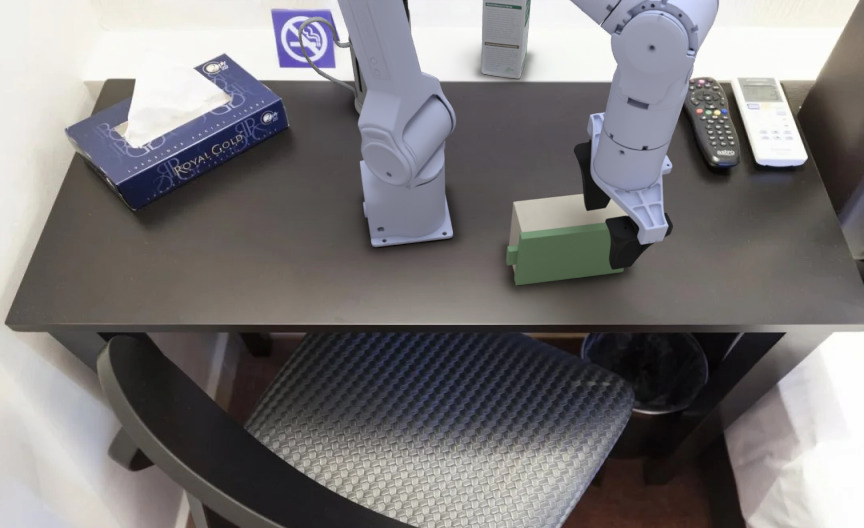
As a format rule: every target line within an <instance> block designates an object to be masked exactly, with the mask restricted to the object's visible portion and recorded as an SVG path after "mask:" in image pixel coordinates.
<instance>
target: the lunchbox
mask: <svg viewBox="0 0 864 528" xmlns="http://www.w3.org/2000/svg"><path fill="white" fill-rule="evenodd" d="M626 215H627V216H628V214H627V213H626V212H625V211H623V210H622V209H621V208H620V207H619V206H618V205H617V204H616V203H615V202H614V201H613V200H612V199H611V200H610V202H609V204H608V205H607V207H606V208H603V209H597V210H591V211H587V210H586V208H585V205H584V196H583V193H579V194H570V195H561V196H552V197H543V198H542V197H541V198H536V199H525V200H517V201H513V202H512V211H511V223H510V231H509V242H508V245H507V246H506V255H505V262H506V266H512V269H513V272H514V277H513V280H514V284H515V286H523V285H531V284H540V283H548V282H555V281H556V282H557V281H563V280H564V281H565V280H570V279H571V280H572V279H579V278H586V277H594V276H602V275H610V274H619V273H623V272H624V270H625V268H621V269H615V270H613V269H611V266H610V263H609V253H610V246H611V239H610V233H609V230H608V227H607V225H606V223H605V220H606V219H607V218H614V217H620V216H626Z"/></svg>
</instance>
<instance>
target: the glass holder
mask: <svg viewBox="0 0 864 528" xmlns="http://www.w3.org/2000/svg"><path fill="white" fill-rule="evenodd" d="M403 4H404V8H405V12H406V15H407V19H408V23H409V27H410V31H411V32H412V20H411V19H412V18H411V11H410V9H409V0H403ZM316 22H317V23H322V24H324V25H326V26H327V27H328V28H329V29H330V31H331V34H332V38H333V41H334V44H335V45H336V47H338V48H341V49H347V48H349V53H350V59H351V66H352V72H353V79H354V86H355V87H353V86H352V85H350V84H348V83H346V82H344V81H342V80H340V79H338V78H335V77H333V76H332V75H330V74H328V73H326V72H324V71H323V70H321V69H320V68H319V67H318V66H317V65H316V64H315V63H314V62H313V60H311V58H310V57H309V55H308V53H307V51H306V49H305V46H304V43H303V31H304V29H305V28H306V27H307V26H308V25H310V24H312V23H316ZM297 33H298V35H297V36H298V42H299V46H300V50H301V52H302V55H303V57H304V58H305V60H306V61H307V64H309V66H310V67H311V68H312V69H313V70H314V71H315V72H316V73H317V74H318V75H319V76H322V78H324V79H326V80H328V81H330V82H332V83H334V84H335V85H338V86H341V87H343V88H345V89H347V90H349V91H351V92H352V93H353V95H354V98H355V99H354V107H355V111H356V112H357V113H358V115H360V114H361V111H362V107H363V104H364V101H365V97H366V94H367V86H366V83H365V80H364V77H363V75H362V72H361V69H360V66H359V63H358V60H357V57H356V54H355V51H354V48H353V45H352V42H351V39H350V36H349V35H348V37H347V38H348V39H347V40H348V41H347V42H339V41H338V38H337V33H336V30H335V28H334V26H333V24H332V23H331V22H330V20H328V19H326V18H324V17H322V16H312V17H309V18H307V19H305V20H304V21H303V22H302V23H300V26H299V28H298V31H297Z"/></svg>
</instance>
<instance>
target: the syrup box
mask: <svg viewBox="0 0 864 528" xmlns="http://www.w3.org/2000/svg"><path fill="white" fill-rule="evenodd" d="M531 4H532V0H482V10H481V11H482V14H481V15H482V16H481V17H482V18H481V65H480V66H481V67H480V68H481V74H483V75H489V76H494V77H501V78H510V79H518V80H520V78H521V76H522V73H523V69H524V66H525V63H526V58H527V56H528V55H527V53H528V40H529V29H530V15H531Z"/></svg>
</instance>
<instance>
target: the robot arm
mask: <svg viewBox="0 0 864 528" xmlns="http://www.w3.org/2000/svg"><path fill="white" fill-rule="evenodd" d="M569 1H570V2H571V3H572V4H573V5H575V6H576V7H577V8H578V9H579V10H581V11H582V12H583V13H584V14H585V15H586V16H587V17H589V18H590V19H591V20H592V22H593V21H594V22H595V23H596V24H597V25H598V26H599V27H600V28H601V29H603V30H604V32H606V33H607V34H608V35H610V48H611V53H612V56H613V59H614V60H615V63H616V64H617V65H616V69H614V70H615V71H614V73H613V75H612V80H611V83H610V84H611V85H610V90H609V93H608V97H607V102H606V106H605V111H604V112H598V113H592V114H589V118H588V121H587V122H588V123H587V126H586V132H587V134H588V136H589V137H590V139H589V140H588V141H587V142H581V143H578V144H576V145H574V147H573V153H574V156H575V158H576V159H577V160H576V161H577V162H578V166H579V170H580V175H581V181H582V194H583V196H584V205H585V208H586V210H587V211H591V210H597V209H603V208H606V207H607V205H608V204H609V202H610V200H611V199H612V200H613V201H614V202H615V203H616V204H617V205H618V206H619V207H620V208H621V209H622V210H623V211H625V212H626V213H627V214H628V216H627V215H626V216H620V217H614V218H607V219H606V220H605V223H606V225H607V227H608V230H609V233H610V239H611V246H610V253H609V263H610V266H611V269H613V270H615V269H621V268H624V269H625V268H631V267H632V266H633V265H634V264H635V263H636V261H637V260H638V259H639V257H640V256H641V255H642V254H643V253H644V252H645V251H646V250H647V249H649V248H650V247H651V246H653V245H654V244H656V243H658V242H663V241H664V239H665V238H666V237H668V236H670V235H671V234H672V232H673V228H674V225H673V222H672V220H671V219H670V218H671V217H670V216H669V214H668V212H665V209H664V187H663V186H664V185H663V175H668V174H670V173H671V172H672V169H673V163H672V161H671V160H670V158H669V156H668V155H667V153H668V150H669V147H670V144H671V141H672V137H673V136H674V133H675V130H676V127H677V124H678V120H679V118H680V114H681V111H682V108H683V105H684V103H685V100H686V97H687V93H688V92H689V87H690V80H691V78H692V75H693V73H694V68H695V65H694V64H695V62H696V59H697V56H698V52H699V50H700V49H701V47H702V45H703V43H704V42H705V39H706V38H707V36H708V34H709V33H710V31H711V29H712V27H713V26H714V24H715V21H716V18H717V15H718V12H719V7H720V0H569ZM336 2H337V4H338V7H339V9H340V13H341V16H342V18H343V22H344V24H345V27H346V30H347V34H348V37H349V36H350V39H351V42H352V45H353V48H354V51H355V54H356V57H357V60H358V63H359V66H360V69H361V72H362V75H363V77H364V80H365V83H366V86H367V94H366V97H365V101H364V104H363V107H362V111H361V114H359V117H358V120H357V127H358V130H359V133H360V136H361V145H360V152H361V153H360V154H361V156H362V159H363V160H360V161H359V168H360V175H361V184H362V190H363V191H362V192H363V197H364V199H363V200H364V201H363V202H362V205H363V214H364V218H367V223H368V229H369V235H370V242H371V246H372V247H374V248H379V247H388V246H394V245H395V246H396V245H404V244H412V243H421V242H429V241H430V242H431V241H438V240H447V239H451V238H453V237H454V232H453V227H452V221H451V220H452V219H451V215H450V211H449V206H448V201H447V196H446V195H447V194H446V169H445V168H446V166H445V165H446V164H445V162H446V161H445V149H446V138H448V137H449V136H451V135H452V134H453V132H454V130H455V128H456V125H457V117H456V113H455V110H454V109H453V106H452V104H451V103H450V102H449V101H448V99H447V97H446V95H445V93H444V92H443V90H442V86H441V82H440V79H439V78H438V77H437V76H434V75H432V74H430V73H427V72H424V71H422V69H421V65H420V61H419V57H418V54H417V50H416V46H415V42H414V39H413V35H412V30H411V31H410V27H409V23H408V19H407V15H406V12H405V8H404V4H403V0H336Z"/></svg>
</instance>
